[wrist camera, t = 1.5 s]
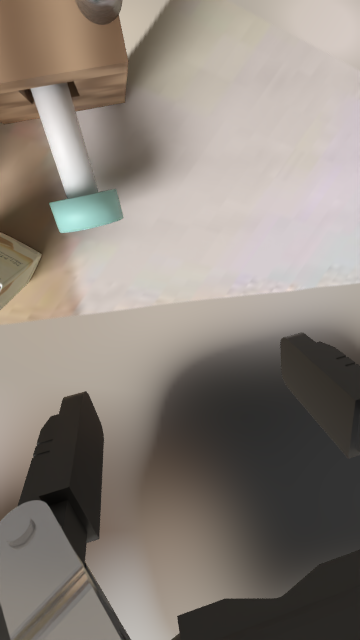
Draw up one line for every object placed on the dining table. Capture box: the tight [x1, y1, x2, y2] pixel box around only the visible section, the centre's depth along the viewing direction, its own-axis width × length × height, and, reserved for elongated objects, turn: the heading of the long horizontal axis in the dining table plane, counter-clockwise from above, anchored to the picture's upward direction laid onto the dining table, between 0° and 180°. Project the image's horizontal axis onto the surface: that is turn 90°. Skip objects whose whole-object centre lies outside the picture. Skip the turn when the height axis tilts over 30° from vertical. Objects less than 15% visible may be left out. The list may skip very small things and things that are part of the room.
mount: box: [0, 0, 128, 124], centre depth 22 cm, size 12×7×11 cm, turn 100°
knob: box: [31, 82, 123, 233], centre depth 24 cm, size 6×14×6 cm, turn 10°
